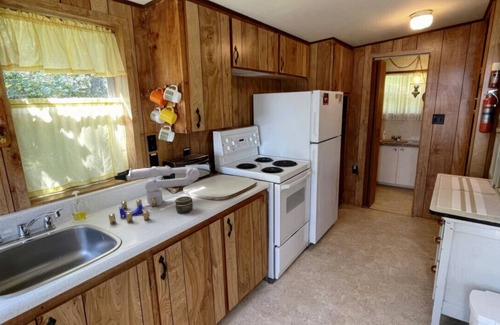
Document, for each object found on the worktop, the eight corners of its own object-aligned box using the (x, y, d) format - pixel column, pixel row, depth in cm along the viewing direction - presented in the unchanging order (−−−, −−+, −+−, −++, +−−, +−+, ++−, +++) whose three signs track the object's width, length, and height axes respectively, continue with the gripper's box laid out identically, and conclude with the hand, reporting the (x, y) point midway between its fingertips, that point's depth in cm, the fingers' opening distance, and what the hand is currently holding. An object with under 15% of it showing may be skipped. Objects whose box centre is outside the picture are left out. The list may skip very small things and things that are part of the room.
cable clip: (142, 211, 159) (141, 202, 157) (143, 214, 155) (141, 204, 153) (120, 215, 153) (119, 206, 152) (120, 218, 149) (119, 208, 148)
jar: (174, 210, 158) (173, 198, 157) (190, 206, 163) (189, 195, 161) (178, 215, 150) (176, 203, 148) (195, 212, 154) (194, 199, 152)
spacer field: (157, 205, 167) (156, 198, 166) (149, 220, 145) (147, 212, 143) (123, 208, 164) (122, 201, 163) (109, 224, 142) (107, 216, 141)
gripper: (140, 165, 171) (117, 167, 168) (136, 169, 157) (112, 172, 154) (141, 175, 172) (119, 178, 169) (138, 181, 158) (114, 184, 155)
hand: (116, 176), depth 161 cm, fingers open, 7 cm apart
